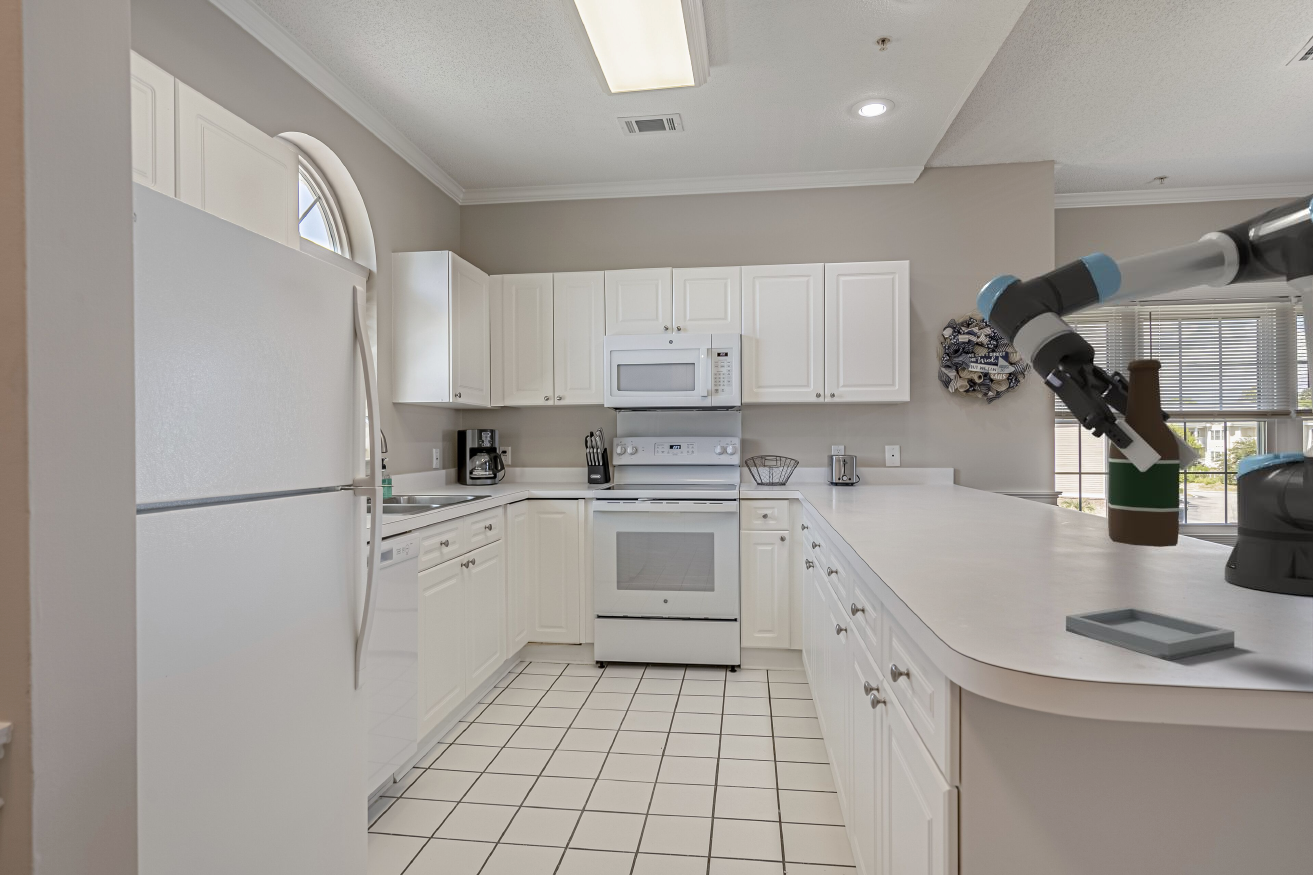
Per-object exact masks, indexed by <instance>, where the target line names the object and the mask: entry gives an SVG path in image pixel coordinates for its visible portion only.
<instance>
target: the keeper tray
mask: <svg viewBox="0 0 1313 875" xmlns="http://www.w3.org/2000/svg"><path fill="white" fill-rule="evenodd" d="M1065 631H1066V632H1070V633H1074V634H1076V635H1080V636H1083V637H1086V638H1087V637H1088V638H1091V639H1094V640H1098V641H1100V642H1104V643H1108V644H1110V645H1111V644H1112V645H1115V646H1118V647H1120V648H1121V647H1122V648H1124V649H1128V650H1132V651H1135V652H1137V653H1140V654H1141V653H1142V654H1145V655H1148V656H1152V657H1155V658H1159V659H1162V660H1166V661H1174V660H1177V659H1181V658H1182V659H1183V658H1187V657H1192V656H1197V655H1201V654H1202V655H1203V654H1207V653H1211V652H1217V651H1222V650H1225V649H1226V650H1227V649H1230V648H1234V647H1235V630H1231V629H1226V628H1223V627H1218V626H1213V625H1210V624H1206V623H1201V622H1197V621H1193V620H1188V619H1184V618H1181V617H1176V616H1171V615H1168V614H1164V613H1160V612H1159V613H1158V612H1157V611H1151V610H1145V609H1143V608H1138V607H1133V606H1122V607H1115V608H1114V607H1113V608H1109V609H1101V610H1098V611H1097V610H1096V611H1095V610H1094V611H1089V612H1083V613H1082V612H1081V613H1077V614H1070V615H1065Z"/></svg>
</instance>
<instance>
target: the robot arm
mask: <svg viewBox="0 0 1313 875" xmlns="http://www.w3.org/2000/svg"><path fill="white" fill-rule="evenodd" d="M1280 278H1285V280H1286V286H1288V287H1291V289H1294V290H1296V291H1298V292H1299V294H1300V298H1301V307H1302V317H1303V327H1304V328H1303V329H1304V330H1303V331H1304V338H1305V347H1306V349H1305V350H1306V358H1307V368H1308V370H1307V371H1308V377H1309V378H1308V379H1309V387H1310V388H1309V389H1310V399H1311V410H1312V412H1313V193H1312V194H1309V195H1307V196H1304V197H1301V198H1298V199H1296V200H1294V201H1291V202H1288V203H1286V204H1282V205H1281V206H1278V207H1275V208H1273V209H1270V210H1267V211H1266V212H1262V213H1260V214H1258V215H1256V216H1253V217H1251V218H1249V219H1247V220H1245V221H1242V222H1240V223H1238V224H1235V225H1232V226H1229V227H1226V228H1224V229H1220V230H1216V231H1212V232H1209V233H1206V234H1204V235H1203V236H1201V237H1200V239H1198V241H1195V242H1191V243H1188V244H1183V245H1179V246H1174V247H1170V248H1166V249H1162V250H1158V251H1153V252H1149V253H1145V254H1144V253H1143V254H1141V255H1137V256H1132V257H1128V258H1124V259H1119V260H1114V259H1113V258H1112V257H1111V256H1110V255H1107V254H1105V253H1102V252H1094V253H1092V254H1089V255H1087V256H1084V257H1082V256H1081V257H1079V258H1078V259H1076V260H1073V261H1072V262H1071V261H1070V262H1069V263H1066V264H1064V265H1062V266H1060V267H1058V268H1055V269H1053V270H1051V271H1048V272H1046V273H1044V274H1042V275H1040V276H1036V277H1033V278H1031V279H1028V280H1026V281H1023V280H1021V279H1020V278H1017V277H1016V276H1015V275H1014V274H1013V275H1012V274H1002V275H999V276H996V277H995V278H993V279H991V280H990V281H989V282H987V283H986V284H985V285H984V286H983V287H982V288H981V290H980V291H979V293H978V296H977V299H976V304H975V305H976V308H977V310H978V312H979V313H980V315H981V317H983V319H984V320H985V321H986V323H987V324H988V325H989V326H990V327H992V328H993V329H994V331H995V332H997V333H998V334H999V335H1000V336H1001V338H1003V339H1004V340H1005V341H1006V342H1007V344H1009V345H1010V346H1011V347H1012V348H1013V349H1014V350H1015V351H1016V352H1017V353H1018V354H1019V355H1020V356H1021V357H1022V358H1021V360H1022V361H1023V362H1027V364H1028V365H1029V366H1031V367H1032V368H1033V370H1034V371H1035V373H1037V374H1038V376H1040V377H1041V379H1043V383H1044V385H1046V386H1047V387H1048V388H1049V389H1050V390H1051V391H1052V392H1054V393H1055V394H1056V396H1057V397H1058V399H1060V400H1061V402H1062V403H1063V404H1064V405H1065V407H1066V408H1067V409H1068V410H1069V412H1071V414H1072V415H1073V417H1075V419H1076V420H1077V421H1078V422H1079V424H1081V426H1082V427H1083V428H1084V429H1086V430H1087V431H1091V430H1092V429H1094V430H1093V432H1092V433H1091V435H1092V436H1093V437H1095V438H1097V439H1098V438H1099V439H1100V437H1102V436H1103V434H1104V435H1105V437H1106V438H1107V439H1108V440H1109V441H1110V443H1111V442H1112V443H1113V444H1114V445H1115V446H1116V447H1117V448H1118V449H1119V450H1120V451H1121V452H1122V453H1123V454H1124V455H1125V456H1126V457H1127V458H1128V459H1129V460H1130V461H1131V462H1132V463H1133V464H1134V465H1135V466H1136V467H1137V468H1138V469H1139V470H1140V471H1141V472H1145V471H1146V470H1147V469H1148V468H1150V467H1151V466H1152V465H1153V464H1154V463H1155V462H1156V461H1158V460H1159V459H1160V458H1161V456H1160V455H1159V454H1158V453H1157V452H1156V451H1155V450H1153V449H1152V448H1151V447H1150V446H1149V445H1148V444H1147V443H1146V442H1145V441H1144V440H1143V439H1142V438H1141V437H1140V436H1139V435H1138V434H1137V433H1136V432H1135V431H1134V430H1133V429H1132V428H1131V427H1130V426H1129V425H1128V424H1127V423H1126V422H1125V421H1124V420H1125V419H1124V420H1119V421H1117V420H1118V419H1117V417H1116V416H1115V414H1114V413H1113V412H1112V409H1114V410H1115V411H1116V412H1118V413H1119V414H1121V415H1122V416H1124V417H1125V415H1126V411H1127V400H1128V388H1129V380H1127V379H1126V377H1125V376H1124V375H1123V374H1122V373H1121V372H1120V371H1117V370H1115V371H1113V373H1112V374H1108V373H1107V371H1106V369H1104V368H1102V367H1100V366H1099V365H1096V364H1094V363H1095V356H1096V351H1095V347H1093V345H1092V344H1090V342H1088V341H1087V340H1086V339H1085V338H1083V336H1082V335H1080V334H1079V333H1077V332H1076V330H1075V328H1073V327H1072V326H1071V325H1070V324H1069V323H1068V322H1067V321H1065V319H1063V318H1064V317H1065V318H1066V317H1069V316H1073V315H1078V314H1081V313H1087V312H1090V311H1095V310H1099V309H1103V308H1108V307H1112V306H1116V305H1121V304H1125V303H1129V302H1134V301H1139V300H1143V299H1148V298H1151V297H1155V296H1161V295H1164V294H1170V293H1173V292H1174V293H1175V292H1178V291H1183V290H1186V289H1191V288H1196V287H1200V286H1203V285H1205V286H1208V287H1211V288H1221V287H1224V286H1225V287H1226V286H1229V285H1230V286H1231V285H1235V284H1241V283H1249V282H1257V281H1263V280H1265V281H1266V280H1272V279H1280ZM1110 407H1111V408H1110ZM1161 411H1162V416H1163V421H1164V423H1165V424H1166V425H1167V427H1168V428H1169V429H1170V430H1171V432H1172V433H1173V434H1174V437H1175V439H1176V441H1177V444H1178V447H1179V459H1180V471H1186V470H1187V469H1188V468H1189V467H1191V466H1192V465H1193V464H1194V463H1195V462H1196V461H1198V460H1199V459H1200V458H1201V457H1202V454H1200V453H1199V452H1198V451H1197V450H1196V449H1195V448H1193V447H1192V446H1191V445H1190V444H1189V443H1188V442H1187V441H1186V440H1185V439H1184V438H1183V437H1181V435H1180V434H1178V432H1176V431H1175V430H1174V429H1173V428H1172V427H1170V426H1169V425H1168V424H1167V423H1166V422H1168V420H1169V419H1170V418H1171V415H1170V414H1169V413H1167V412H1166V411H1165V410H1164V409H1163V408H1161ZM1237 466H1238V468H1237V473H1236V474H1237V476H1235V477H1236V478H1235V480H1236V498H1237V500H1236V503H1237V506H1236V507H1237V510H1236V512H1237V515H1236V516H1237V521H1236V522H1237V534H1236V535H1237V537H1236V542H1235V543H1234V545H1233V548H1232V549H1231V553H1230V554H1229V556H1228V560H1227V561H1226V563H1225V566H1224V580H1225V581H1226V582H1228V583H1230V584H1233V585H1236V586H1240V587H1245V588H1249V589H1254V590H1259V591H1260V590H1261V591H1266V592H1267V591H1268V592H1272V593H1281V594H1291V595H1302V596H1313V445H1311V446H1310V447H1309V448H1308V449H1307V450H1306V451H1303V452H1282V453H1281V452H1280V453H1265V454H1255V455H1248V456H1245V457H1243V458H1241V460H1240V461H1239V462H1238V465H1237Z"/></svg>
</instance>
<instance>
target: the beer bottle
mask: <svg viewBox="0 0 1313 875" xmlns="http://www.w3.org/2000/svg"><path fill="white" fill-rule="evenodd" d="M1126 369H1127V371H1128V372H1129V378H1128V379H1129V380H1128V382H1129V388H1128V400H1127V411H1126V415H1125V416H1124V421H1125V422H1126V423H1127V424H1128V425H1129V426H1130V427H1131V428H1132V429H1133V430H1134V431H1135V432H1136V433H1137V434H1138V435H1139V436H1140V437H1141V438H1142V439H1143V440H1144V441H1145V442H1146V443H1147V444H1148V445H1149V446H1150V447H1151V448H1152V449H1153V450H1155V451H1156V452H1157V453H1158V454H1159V455H1160V456H1161V458H1160V459H1159V460H1158V461H1156V462H1155V463H1154V464H1153V465H1152V466H1151V467H1150V468H1148V469H1147V470H1146V471H1145V472H1141V471H1140V470H1139V469H1138V468H1137V467H1136V466H1135V465H1134V464H1133V463H1132V462H1131V461H1130V460H1129V459H1128V458H1127V457H1126V456H1125V455H1124V454H1123V453H1122V452H1121V451H1120V450H1119V449H1118V448H1117V447H1116V446H1115V445H1114V444H1113V443H1112V442H1111V441H1110V445H1109V451H1108V452H1109V454H1108V493H1107V494H1108V499H1107V500H1108V502H1107V503H1108V505H1107V506H1108V507H1107V509H1108V512H1107V520H1108V521H1107V523H1108V524H1107V526H1108V536H1109V538H1110V540H1111V541H1112V542H1114V543H1119V544H1125V545H1129V546H1131V545H1132V546H1140V547H1143V546H1144V547H1155V548H1156V547H1157V548H1162V547H1163V548H1164V547H1176V546H1177V544H1179V543H1178V542H1179V541H1178V540H1179V529H1180V519H1179V518H1180V471H1181V469H1180V459H1179V447H1178V444H1177V441H1176V439H1175V437H1174V434H1173V433H1172V432H1171V430H1170V429H1169V428H1168V427H1167V425H1168V424H1167V423H1166V422H1165V423H1166V424H1167V425H1166V424H1165V423H1164V421H1163V416H1162V411H1161V409H1162V402H1161V385H1160V371H1159V370H1161V369H1162V364H1161V361H1160V360H1158V359H1151V358H1150V359H1137V360H1135V359H1134V360H1132V361H1130V362H1129V363H1128V365H1127V367H1126Z"/></svg>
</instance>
